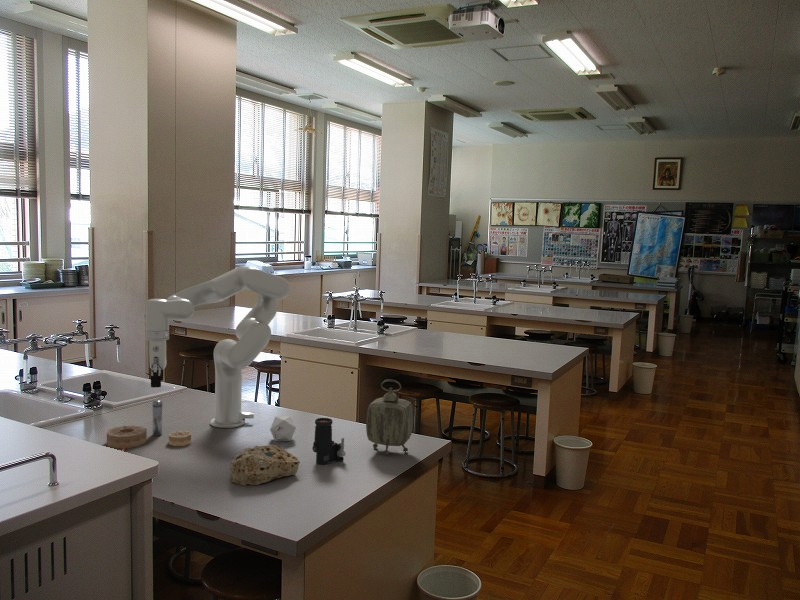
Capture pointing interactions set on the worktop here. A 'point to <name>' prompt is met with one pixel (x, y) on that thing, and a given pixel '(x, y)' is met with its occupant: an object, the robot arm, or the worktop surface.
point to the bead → (126, 436)
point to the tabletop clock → (389, 420)
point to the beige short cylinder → (179, 438)
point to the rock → (262, 465)
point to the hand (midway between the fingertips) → (157, 383)
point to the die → (282, 428)
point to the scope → (326, 443)
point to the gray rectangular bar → (157, 418)
